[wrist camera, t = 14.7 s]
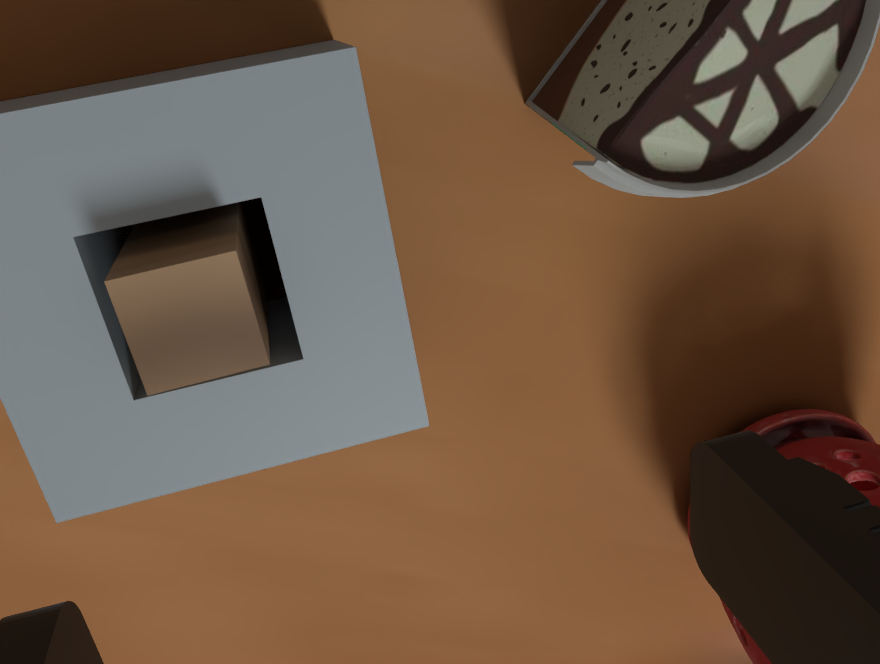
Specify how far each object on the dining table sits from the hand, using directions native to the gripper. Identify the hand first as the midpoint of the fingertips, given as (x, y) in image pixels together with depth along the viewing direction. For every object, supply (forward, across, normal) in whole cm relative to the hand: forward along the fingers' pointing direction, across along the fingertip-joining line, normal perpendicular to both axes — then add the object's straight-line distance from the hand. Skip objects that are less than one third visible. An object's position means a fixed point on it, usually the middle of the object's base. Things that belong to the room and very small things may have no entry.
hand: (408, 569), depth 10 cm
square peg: (+25, +4, +2) cm, 25 cm away
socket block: (+25, +4, +2) cm, 25 cm away
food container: (+25, -16, -2) cm, 30 cm away
